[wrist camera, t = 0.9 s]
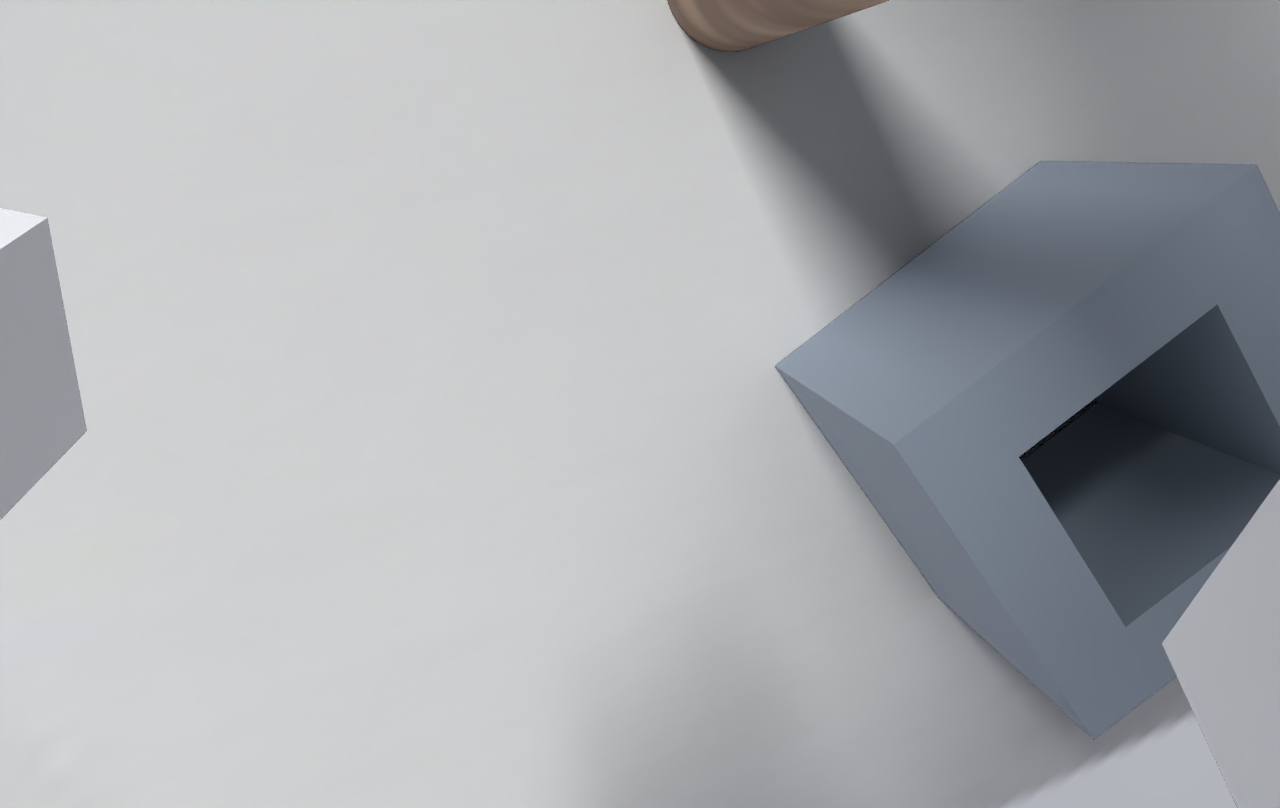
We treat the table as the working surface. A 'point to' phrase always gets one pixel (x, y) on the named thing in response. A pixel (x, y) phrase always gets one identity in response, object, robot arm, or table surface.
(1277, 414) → the collar block
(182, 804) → the table surface
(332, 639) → the table surface
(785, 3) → the long walnut pin
